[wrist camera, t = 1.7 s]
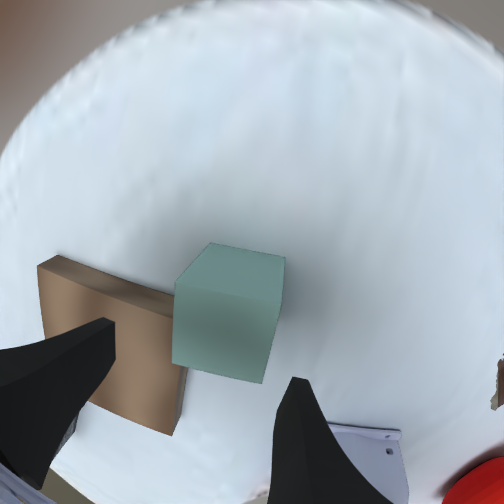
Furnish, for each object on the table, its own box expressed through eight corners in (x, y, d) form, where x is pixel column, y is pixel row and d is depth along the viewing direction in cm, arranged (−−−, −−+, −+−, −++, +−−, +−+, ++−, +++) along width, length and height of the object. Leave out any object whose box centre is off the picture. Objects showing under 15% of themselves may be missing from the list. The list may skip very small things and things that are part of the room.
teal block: (285, 257, 18) (281, 304, 12) (271, 322, 19) (261, 384, 14) (210, 242, 18) (175, 282, 13) (203, 307, 20) (171, 363, 14)
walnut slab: (198, 304, 20) (186, 323, 17) (180, 416, 23) (171, 436, 21) (57, 254, 20) (36, 265, 18) (67, 367, 24) (54, 382, 22)
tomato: (480, 488, 25) (494, 533, 15) (418, 504, 26) (427, 558, 17) (531, 431, 21) (556, 481, 11) (469, 450, 22) (493, 515, 12)
